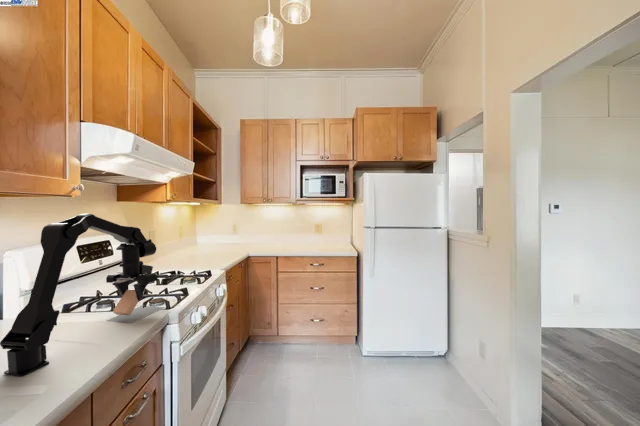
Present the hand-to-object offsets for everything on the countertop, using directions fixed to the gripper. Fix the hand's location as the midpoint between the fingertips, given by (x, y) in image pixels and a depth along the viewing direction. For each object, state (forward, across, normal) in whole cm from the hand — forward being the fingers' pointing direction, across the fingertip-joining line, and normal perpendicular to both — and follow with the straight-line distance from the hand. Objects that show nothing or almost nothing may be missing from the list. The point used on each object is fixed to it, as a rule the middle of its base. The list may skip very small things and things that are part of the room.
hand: (133, 299), depth 113 cm
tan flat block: (+3, 0, +5) cm, 6 cm away
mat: (+6, 0, -2) cm, 7 cm away
